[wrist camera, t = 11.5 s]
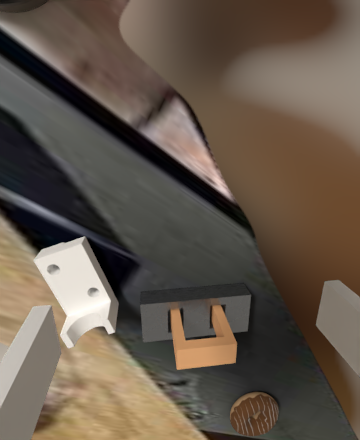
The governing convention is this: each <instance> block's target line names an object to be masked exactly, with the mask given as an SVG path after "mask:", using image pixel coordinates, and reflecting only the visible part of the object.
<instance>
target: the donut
mask: <svg viewBox="0 0 360 440" xmlns="http://www.w3.org/2000/svg"><path fill="white" fill-rule="evenodd" d="M278 414H279V408H278V404H277V402H276V401H275V400H274V399H273V398H272V397H271V396H270V395H268V394H266V393H263V392H251V393H248V394H245V395H243V396H241V397H240V398H239V399H238V400H237V401H236V402H235V403H234V404H233V406H232V408H231V412H230V421H231V424H232V426H233V428H234V429H235V430H236V431H237V432H238V433H240V434H242V435H246V436H257V435H262V434H265V433H267V432H269V430H271V429H272V428H273V426H274V425H275V423H276V421H277V419H278Z"/></svg>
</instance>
